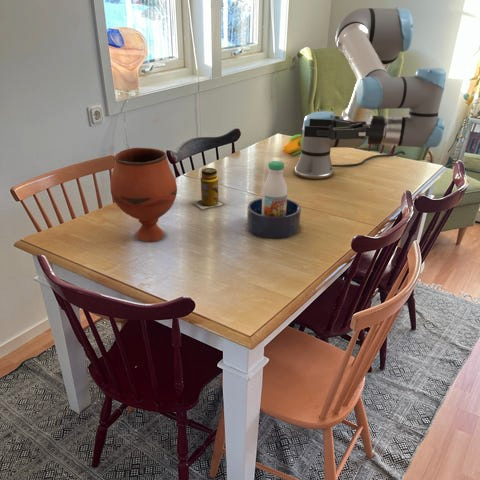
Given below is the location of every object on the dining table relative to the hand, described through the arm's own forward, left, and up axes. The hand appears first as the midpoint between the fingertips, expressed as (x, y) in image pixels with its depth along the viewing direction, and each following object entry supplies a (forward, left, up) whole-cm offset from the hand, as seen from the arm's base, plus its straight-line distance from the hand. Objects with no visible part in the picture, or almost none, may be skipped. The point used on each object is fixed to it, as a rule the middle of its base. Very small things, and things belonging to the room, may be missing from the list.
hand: (307, 127), depth 137 cm
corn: (-39, -71, -31) cm, 87 cm away
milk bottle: (+8, -3, -30) cm, 31 cm away
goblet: (+46, -13, -31) cm, 57 cm away
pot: (+8, -3, -31) cm, 32 cm away
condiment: (+20, -30, -31) cm, 47 cm away
